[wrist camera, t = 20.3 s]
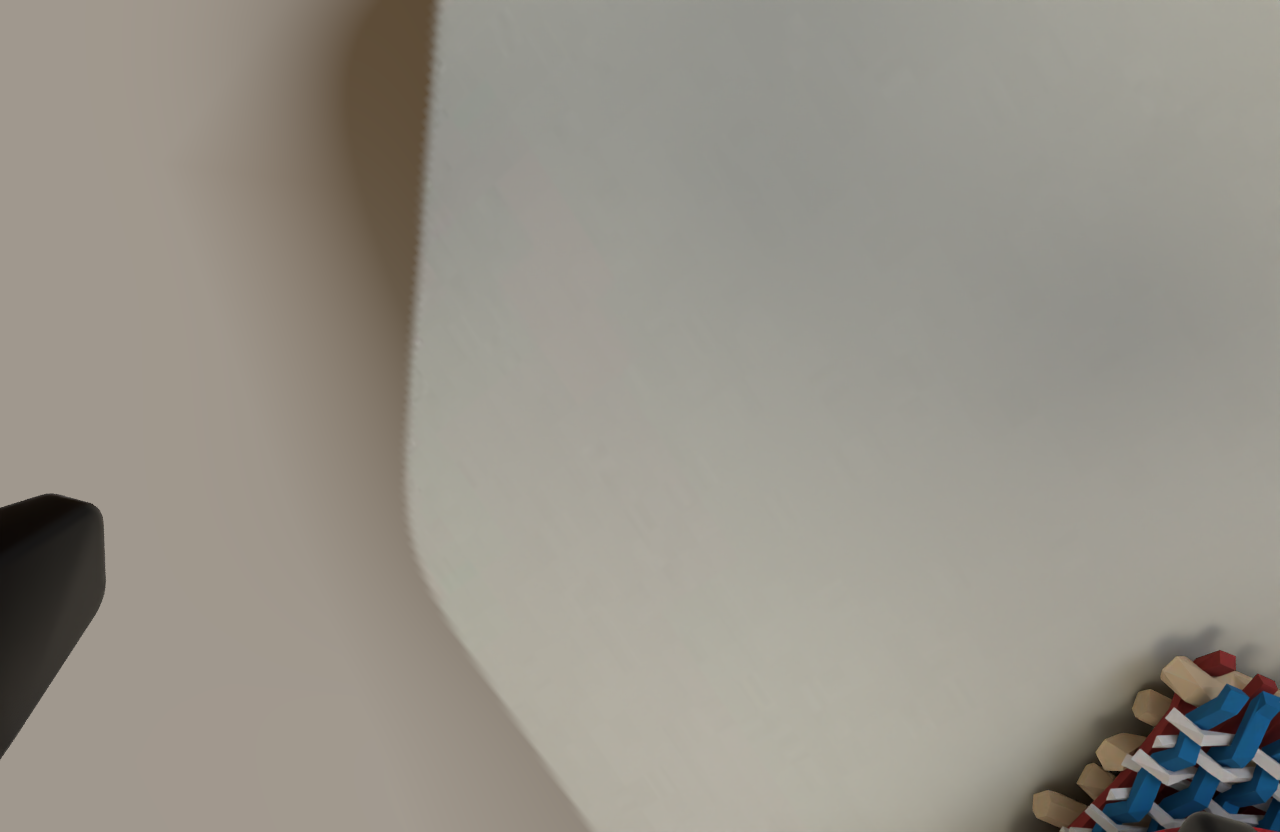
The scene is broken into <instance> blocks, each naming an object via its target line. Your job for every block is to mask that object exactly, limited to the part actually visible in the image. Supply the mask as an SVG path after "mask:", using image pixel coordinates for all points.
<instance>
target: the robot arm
mask: <svg viewBox="0 0 1280 832" xmlns="http://www.w3.org/2000/svg"><path fill="white" fill-rule="evenodd" d="M105 583H106V576H105V550H104V525H103V517H102V514H101V512H100V510H99V509H98V508H97V507H96V506H94V505H93V504H91V503H88V502H84V501H80V500H77V499H73V498H70V497H66V496H63V495H58V494H44V495H40V496H37V497H33V498H30V499H27V500H24V501H21V502H17V503H14V504H11V505H8V506H4V507H1V508H0V759H1V758H2V756H3V755H4V753H5V752H6V750H7V749H8V748H9V746H10V745H11V743H12V742H13V740H14V739H15V737H16V736H17V734H18V733H19V731H20V730H21V728H22V727H23V725H24V724H25V722H26V720H27V719H28V717H29V716H30V714H31V713H32V711H33V710H34V708H35V707H36V705H37V704H38V702H39V701H40V699H41V697H42V696H43V694H44V693H45V691H46V690H47V688H48V687H49V685H50V684H51V682H52V681H53V679H54V677H55V676H56V674H57V673H58V671H59V670H60V668H61V667H62V665H63V664H64V662H65V661H66V659H67V657H68V656H69V654H70V653H71V651H72V650H73V648H74V647H75V645H76V644H77V642H78V641H79V639H80V637H81V636H82V634H83V633H84V631H85V630H86V628H87V627H88V625H89V624H90V622H91V621H92V619H93V617H94V616H95V614H96V612H97V611H98V609H99V607H100V604H101V602H102V599H103V595H104V591H105ZM1178 832H1257V831H1256V830H1255V829H1254V828H1253V827H1251V826H1250V825H1248V824H1246V823H1243V822H1241V821H1237V820H1233V819H1230V818H1226V817H1223V816H1219V815H1215V814H1212V813H1208V812H1195V813H1192V814H1191V815H1190V816H1188V817H1187V818H1186V820H1185V821H1184V822H1183V823H1182V825H1181V827H1180V828H1179V830H1178Z"/></svg>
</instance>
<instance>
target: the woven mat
mask: <svg viewBox="0 0 1280 832" xmlns="http://www.w3.org/2000/svg"><path fill="white" fill-rule="evenodd" d="M1160 679H1161V680H1162V681H1163V682H1164V683H1166V684H1167V685H1168V686H1169V687H1170V688H1171V689H1172V690H1173V691H1174V692H1175V693H1174V696H1173V699H1170V698H1168V697H1166V696H1164V695H1162V694H1160V693H1158V692H1156V691H1153V690H1151V689H1148V690H1144V691H1140V692H1138V694H1137V697H1136V699H1135V702H1134V705H1133V707H1132V711H1133V713H1134V715H1135V717H1136V718H1137V719H1139V720H1141V721H1143V722H1145V723H1147V724H1149V725H1151V726H1153V727H1155V728H1154V729H1153V730H1152V732H1151V733H1150V734H1149V735H1148V737H1144V736H1139V735H1133V734H1128V733H1123V732H1122V733H1120V734H1117V735H1114V736H1112V737H1109V738H1107V739H1104V741H1103V742H1102V744H1101V745H1100V746H1099V748H1098V749H1097V751H1096V752H1095V753H1096V755H1097V757H1098V759H1099V761H1100V762H1101V764H1102V766H1103V768H1104V769H1103V768H1102V767H1100V766H1098V765H1097V764H1095V763H1091V764H1088V765H1086V766H1085V768H1084V770H1083V772H1082V774H1081V775H1080V777H1079V779H1078V781H1077V784H1078V785H1079V786H1080V787H1081V788H1082V789H1083V790H1084V791H1085V792H1086V793H1087V794H1088V795H1089V796H1090V797H1091V798H1092V799H1093V800H1094V801H1093V802H1092V803H1091V804H1090V805H1089V806H1087V805H1085V804H1083V803H1081V802H1078V801H1076V800H1074V799H1072V798H1069V797H1067V796H1065V795H1063V794H1060V793H1057V792H1054V791H1050V790H1046V791H1043V792H1040V793H1037V794H1034V795H1033V809H1032V810H1033V812H1034V814H1035V815H1036V817H1037V818H1038V819H1040V820H1043V821H1045V822H1047V823H1050V824H1052V825H1054V826H1057V827H1059V828H1061V830H1060V832H1155V831H1159V830H1163V829H1170V828H1177V827H1181V825H1182V823H1183V822H1184V821H1185V820H1186V818H1187V817H1188V816H1190V815H1191V814H1192V813H1195V812H1208V813H1212V814H1215V815H1219V816H1223V817H1226V818H1230V819H1233V820H1237V821H1241V822H1243V823H1246V824H1248V825H1250V826H1251V827H1257V828H1262V829H1267V830H1272V831H1278V832H1280V690H1279V689H1278V688H1277V686H1276V684H1275V681H1273V680H1271V679H1269V678H1266V677H1264V676H1262V675H1260V674H1257V675H1256V676H1255V677H1254V678H1251V677H1249V676H1246V675H1244V674H1242V673H1239V672H1237V671H1236V656H1234V655H1231V654H1229V653H1226V652H1224V651H1221V650H1219V651H1216V652H1213V653H1210V654H1207V655H1205V656H1202V657H1199V658H1196V659H1195V660H1194V661H1193V662H1192V661H1191V660H1190V659H1188V658H1187V657H1185V656H1176V657H1175V658H1174V659H1173V660H1172V661H1171V662H1170V663H1169V664H1168V665H1167V666H1166V667H1165V668H1164V669H1162V672H1161V677H1160ZM1197 707H1198V708H1197ZM1108 771H1121V772H1120V773H1119V774H1118V776H1117V777H1116V776H1115V775H1113V774H1111V773H1110V772H1108Z"/></svg>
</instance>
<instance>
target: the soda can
mask: <svg viewBox="0 0 1280 832" xmlns="http://www.w3.org/2000/svg"><path fill="white" fill-rule="evenodd" d="M1179 828H1180V827H1177V828H1170V829H1163V830H1159V831H1155V832H1178V830H1179ZM1253 828H1254V829H1255V830H1256V831H1257V832H1278V831H1272V830H1267V829H1262V828H1257V827H1253Z"/></svg>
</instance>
